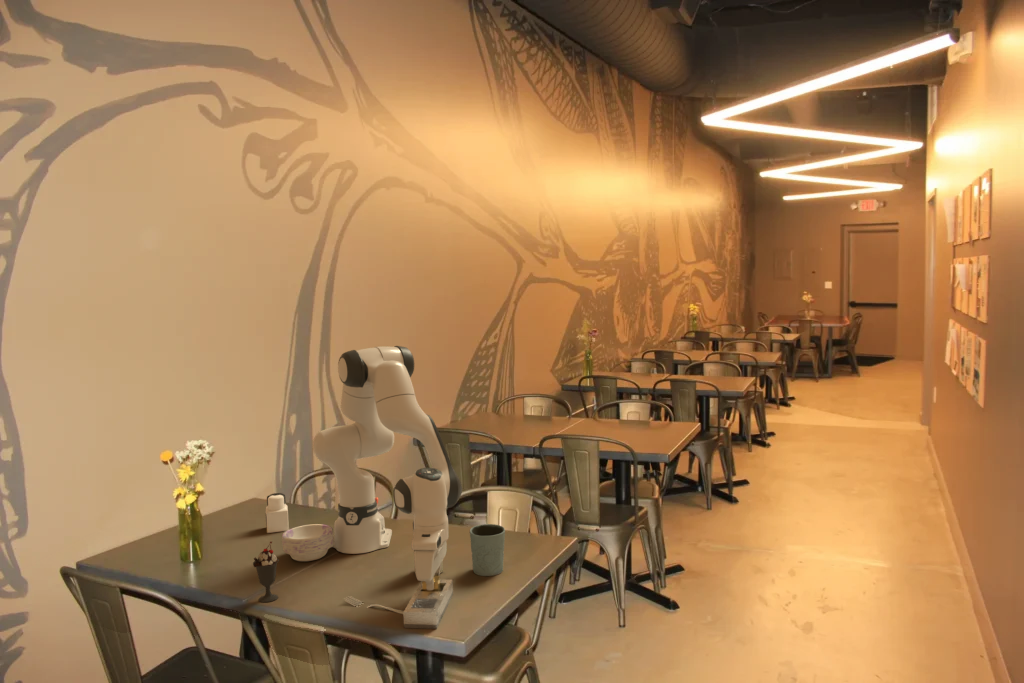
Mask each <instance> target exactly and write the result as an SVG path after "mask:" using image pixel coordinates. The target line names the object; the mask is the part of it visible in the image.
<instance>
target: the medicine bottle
mask: <svg viewBox="0 0 1024 683" xmlns="http://www.w3.org/2000/svg"><path fill="white" fill-rule="evenodd" d="M288 509H289V508H288V505H287V504H286V495H285V494H284V493H281V492H274V493H270V494H269V495H267V496H266V507H265V522H266V524H265V525H266V533H267V534H270V533H271V534H272V533H279V532H286V531H287V530H289V529H290V527H289V510H288Z"/></svg>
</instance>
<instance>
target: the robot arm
mask: <svg viewBox="0 0 1024 683" xmlns="http://www.w3.org/2000/svg"><path fill="white" fill-rule="evenodd" d="M337 370H338V371H337V372H338V376H339V380H340V382H341V383H343V385H342V390H341V398H340V399H341V401H340V409H341V413H342V414H343V415H344V417H346V418H347V419H349V420H351V421H353V422H354V423H352V424H346V425H344V424H343V425H337V426H332V427H328V428H326V429H323V430H320V431H318V432H316V435H315V436H314V438H313V442H312V450H313V453H314V455H315V457H316V458H317V460H319V461H320V462H321V463H323V464H324V465H326V466H327V467H328V468H330V469H331V472H332V473H333V474H334V476H335V479H336V482H337V490H338V491H337V492H338V504H337V505H338V506H337V512H338V513H337V514H338V517H337V518H336V520H335V521H334V529H333V536H334V545H333V546H332V547H331V548H333V549H336V551H338V552H340V553H342V554H353V555H355V554H366V553H369V552H373V551H377V550H379V549H385V548H388V547H389V546H390V542H391V538H392V534H393V530H392V529H391V528H387V527H386V526H385V525H386V524H385V517H384V516H383V515H382V514H381V513H380V512H379V509H378V506H379V505H378V503H379V497H376V492H375V488H376V487H375V478H374V476H373V475H372V473H371V472H369V471H367V470H365V469H362V468H359V467H357V464H356V461H357V460H361V459H367V458H372V457H373V458H374V457H378V456H381V455H383V454H386V453H388V452H390V451H391V450H392V448H394V444H395V434H394V433H396V434H399V435H404V436H408V437H411V438H414V439H416V440H418V441H419V442H420V443H421V444H422V445H423V447H424V448H425V450H426V453H427V456H428V458H429V461H430V464H431V466H432V467H422V468H419V469H417V470H415V472H414V473H413V474H412V475H410V476H406V477H402V478H400V479H399V480H397V482H396V483H395V485H394V488H393V502H394V505H395V507H396V509H398V511H400V512H402V513H404V514H407V515H410V514H413V517H414V518H413V521H414V536H412V539H411V549H412V551H413V559H414V562H415V564H414V572H415V571H416V574H415V577H416V579H417V581H418V582H422V581H425V582H426V587H427V590H433V589H434V587H435V585H434V584H435V583H434V580H433V577H434V576H440V577H441V573H440V567H441V562H442V561H443V560H444V559H445V557H446V556H447V549H448V548H447V546H448V545H447V541H448V539H449V538H450V537H449V517H448V515H447V514H448V513H447V509H449V508H453V507H454V506H456V504H457V503H458V501H459V500H460V498H461V496H462V494H463V486H462V482H461V480H460V478H459V475H458V474H457V472H456V470H455V469H454V467H453V465H452V462H451V460H450V457H449V454H448V453H447V449H446V447H445V444H444V442H443V440H442V437H441V434H440V432H439V429H438V427H437V426H436V423H435V421H434V419H433V417H432V416H431V415H430V414H427V413H426V412H424V411H423V409H422V408H421V406H420V405H419V402H418V399H417V397H416V393H415V392H416V391H415V388H414V385H413V382H412V379H411V377H412V375H413V374H414V372H415V359H414V355H413V353H412V352H411V350H410V349H409V348H408V347H406V346H402V345H395V346H388V345H387V346H374V347H368V348H361V349H357V350H356V349H352V350H348V351H345V352H343V353H342V354H341V355H340V357H339V358H338V363H337ZM414 550H415V551H414Z"/></svg>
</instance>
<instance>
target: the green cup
mask: <svg viewBox="0 0 1024 683" xmlns="http://www.w3.org/2000/svg"><path fill="white" fill-rule="evenodd" d="M505 537H506V529H505V527H504V526H502V525H500V524H495V523H484V524H478V525H474V526H472V527H471V528H470V529H469V538H470V550H471V558H472V559H471V561H472V570H473V573H474V574H476V575H477V576H481V577H491V576H492V577H493V576H497V575H500V574H501V573H503V572H504V560H505V559H504V556H505V553H504V552H505Z"/></svg>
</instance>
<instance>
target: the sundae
mask: <svg viewBox="0 0 1024 683" xmlns="http://www.w3.org/2000/svg"><path fill="white" fill-rule="evenodd" d="M272 543H273V541H269V544H268V545H267V547H266V548H263V551H261V552H260V553H259V554H258V556H257V557H254V558H253V562H252V564H253V567H254V568H255V569H256V571H257V572H256V573H257V577H258V581H259V584H260V585H262V586H264V588H265V594H264V595H261V596H260V597H259V598H258V601H259V602H260V603H270V602H271V603H272V602H275V601H276V600H277V599H278V598H279V596H278V594H275V593H271V586H272V585H273V584H274V582H275V581H276V576H277V567H278V566H277V565H278V563H279V561H280V559H279V558H277V556H276V555H275V554H274V550H273V549H272ZM269 546H270V547H269ZM268 547H269V549H268Z"/></svg>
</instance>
